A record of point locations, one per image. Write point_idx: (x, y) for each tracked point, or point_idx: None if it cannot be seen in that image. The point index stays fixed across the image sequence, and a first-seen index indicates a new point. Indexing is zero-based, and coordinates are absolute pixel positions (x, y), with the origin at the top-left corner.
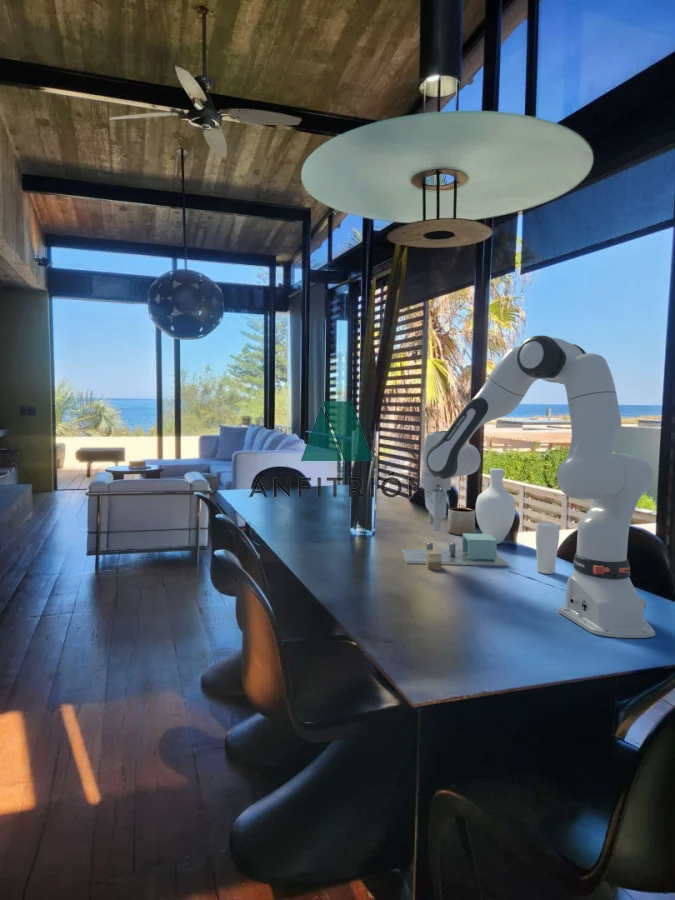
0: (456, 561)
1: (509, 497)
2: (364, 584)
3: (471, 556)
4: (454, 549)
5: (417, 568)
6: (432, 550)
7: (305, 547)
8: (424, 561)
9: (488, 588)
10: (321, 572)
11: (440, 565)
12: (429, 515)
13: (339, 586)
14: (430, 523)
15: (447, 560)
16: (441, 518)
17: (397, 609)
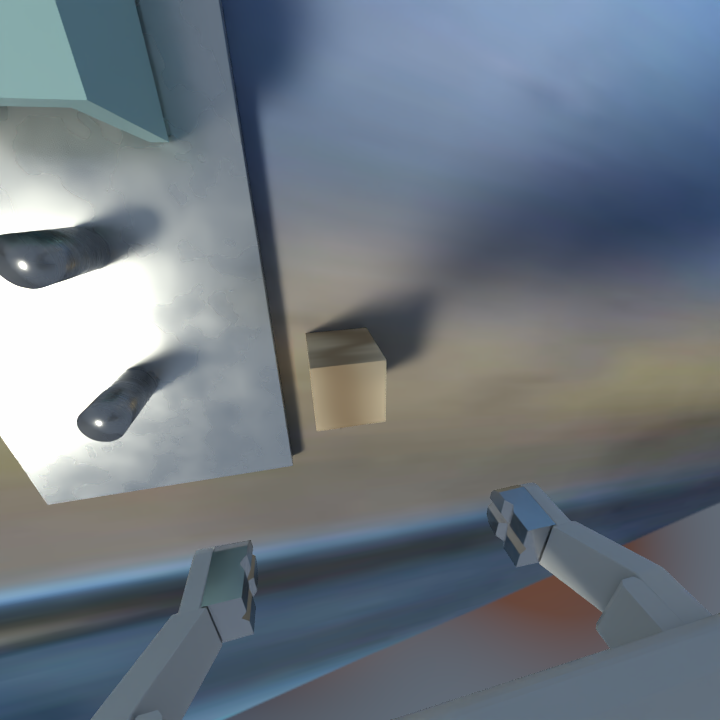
0: (249, 240)
1: None
2: None
3: (153, 105)
4: (68, 240)
5: None
6: (317, 405)
7: None
8: (282, 401)
9: (659, 147)
10: (428, 602)
11: (369, 337)
12: (191, 698)
13: None
14: (256, 578)
15: (240, 293)
16: (687, 594)
17: (709, 437)
